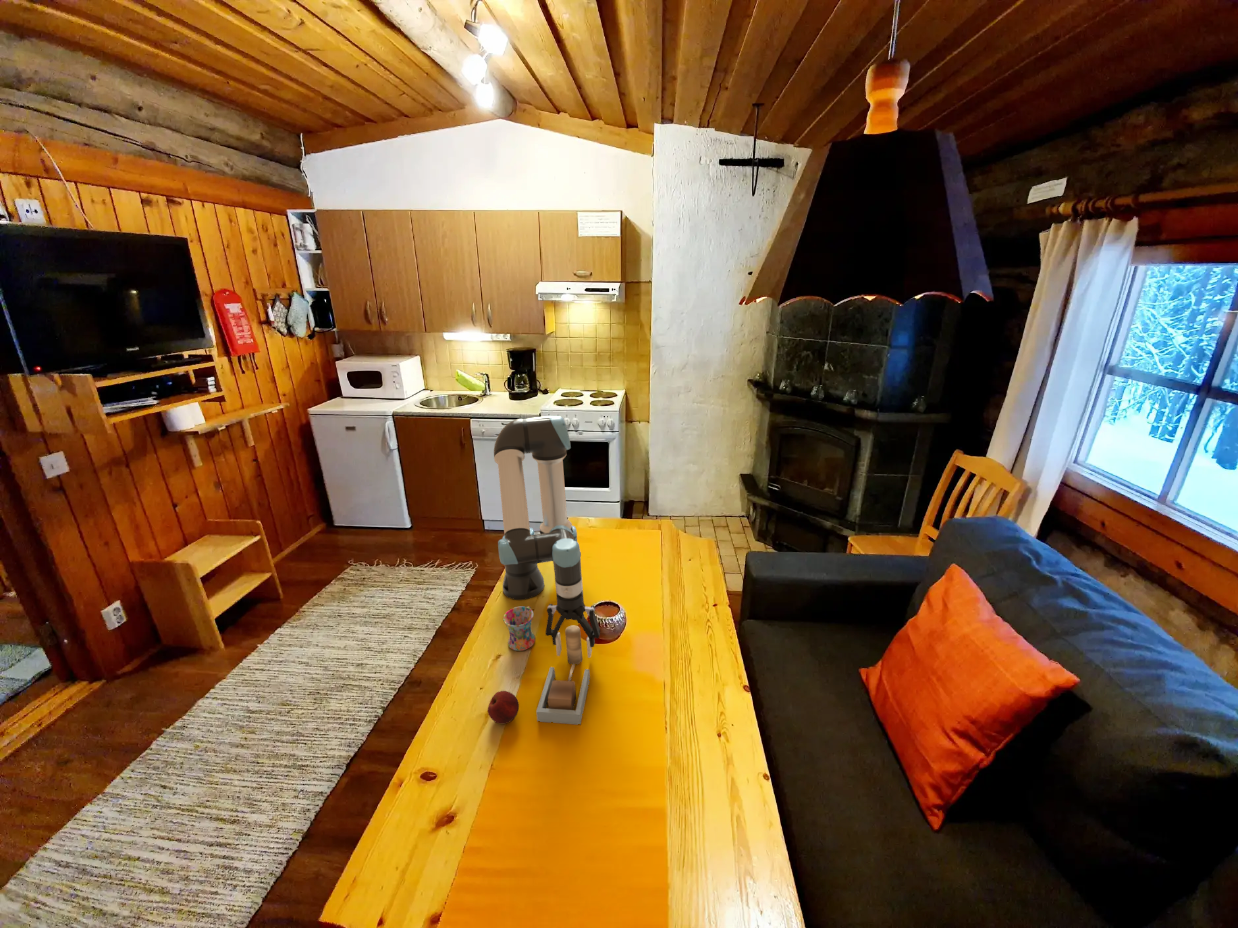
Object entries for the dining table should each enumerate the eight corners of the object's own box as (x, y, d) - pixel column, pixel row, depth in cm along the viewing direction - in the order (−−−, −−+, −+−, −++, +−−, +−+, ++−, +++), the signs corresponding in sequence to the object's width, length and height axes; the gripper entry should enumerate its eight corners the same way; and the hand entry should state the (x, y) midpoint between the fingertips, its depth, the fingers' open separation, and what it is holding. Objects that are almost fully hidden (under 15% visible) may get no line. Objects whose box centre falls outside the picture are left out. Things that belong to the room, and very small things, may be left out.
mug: (528, 656, 148) (524, 628, 144) (501, 650, 151) (497, 622, 147) (545, 630, 159) (542, 603, 155) (520, 624, 162) (516, 598, 158)
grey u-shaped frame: (551, 676, 141) (550, 666, 139) (589, 678, 139) (589, 669, 138) (537, 721, 127) (536, 711, 125) (580, 724, 125) (579, 714, 124)
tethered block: (566, 653, 149) (564, 624, 145) (586, 654, 148) (584, 625, 144) (549, 714, 128) (546, 683, 124) (571, 716, 128) (569, 685, 124)
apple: (494, 705, 132) (491, 683, 129) (523, 705, 131) (520, 683, 128) (487, 729, 125) (482, 706, 122) (516, 729, 125) (513, 707, 122)
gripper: (529, 597, 135) (536, 660, 143) (605, 601, 133) (608, 664, 141) (536, 581, 142) (542, 642, 150) (608, 584, 139) (611, 646, 148)
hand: (574, 653), depth 146 cm, fingers open, 9 cm apart
